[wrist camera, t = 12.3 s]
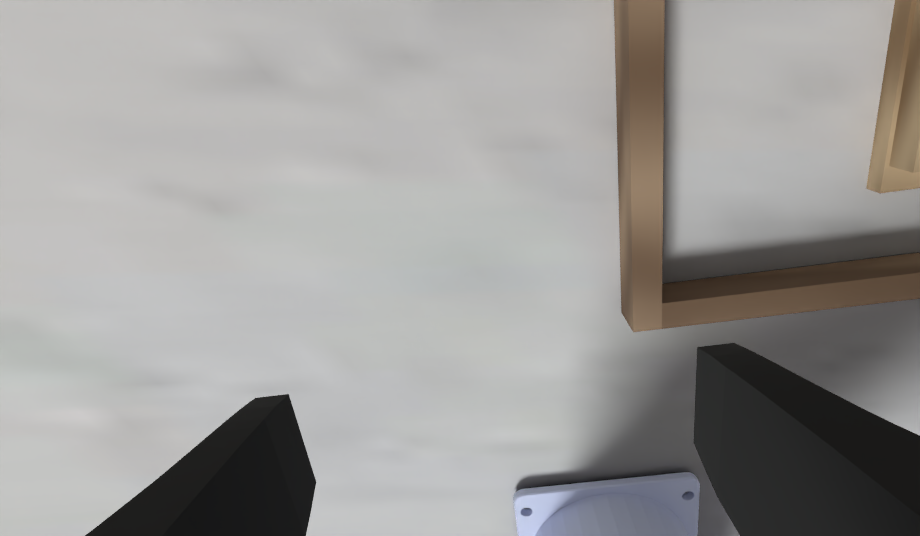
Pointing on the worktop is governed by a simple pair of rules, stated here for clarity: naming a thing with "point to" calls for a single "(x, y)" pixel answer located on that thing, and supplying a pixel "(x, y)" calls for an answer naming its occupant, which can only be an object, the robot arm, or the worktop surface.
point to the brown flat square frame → (643, 216)
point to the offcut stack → (899, 107)
